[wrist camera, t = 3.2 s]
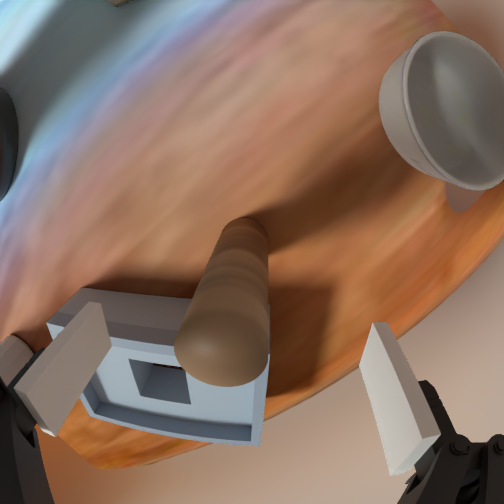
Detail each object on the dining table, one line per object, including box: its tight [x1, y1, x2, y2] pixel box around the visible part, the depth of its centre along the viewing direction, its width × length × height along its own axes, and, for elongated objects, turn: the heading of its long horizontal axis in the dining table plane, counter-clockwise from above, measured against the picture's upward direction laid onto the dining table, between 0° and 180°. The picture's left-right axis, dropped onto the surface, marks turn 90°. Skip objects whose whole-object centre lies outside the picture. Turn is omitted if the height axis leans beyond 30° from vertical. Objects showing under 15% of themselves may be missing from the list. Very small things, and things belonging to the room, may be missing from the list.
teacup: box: [379, 31, 504, 191], centre depth 16 cm, size 14×11×8 cm
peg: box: [174, 218, 268, 387], centre depth 18 cm, size 4×4×14 cm
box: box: [47, 287, 270, 446], centre depth 27 cm, size 14×20×7 cm
